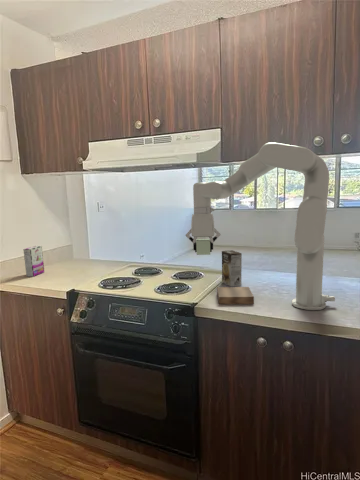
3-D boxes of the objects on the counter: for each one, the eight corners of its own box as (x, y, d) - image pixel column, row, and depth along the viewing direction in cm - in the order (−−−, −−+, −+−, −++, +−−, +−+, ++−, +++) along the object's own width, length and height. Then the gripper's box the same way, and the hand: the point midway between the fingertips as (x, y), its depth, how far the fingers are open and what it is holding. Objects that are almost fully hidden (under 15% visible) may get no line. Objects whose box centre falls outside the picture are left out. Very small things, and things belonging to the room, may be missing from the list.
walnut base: (248, 293, 146) (248, 286, 146) (253, 303, 133) (253, 296, 132) (217, 293, 147) (217, 287, 147) (219, 304, 133) (219, 297, 133)
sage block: (209, 252, 149) (209, 239, 148) (210, 254, 143) (210, 240, 142) (196, 252, 149) (196, 239, 148) (196, 254, 143) (196, 241, 142)
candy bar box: (37, 272, 200) (34, 245, 198) (44, 272, 199) (42, 245, 197) (25, 276, 189) (22, 248, 187) (33, 277, 188) (30, 248, 186)
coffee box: (221, 282, 166) (221, 250, 163) (232, 280, 168) (232, 249, 166) (230, 286, 157) (230, 253, 155) (242, 285, 159) (242, 252, 157)
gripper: (221, 210, 146) (222, 249, 149) (183, 211, 147) (184, 250, 150) (222, 210, 139) (223, 252, 142) (182, 212, 140) (183, 253, 143)
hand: (203, 251), depth 146 cm, fingers closed on sage block, 6 cm apart
